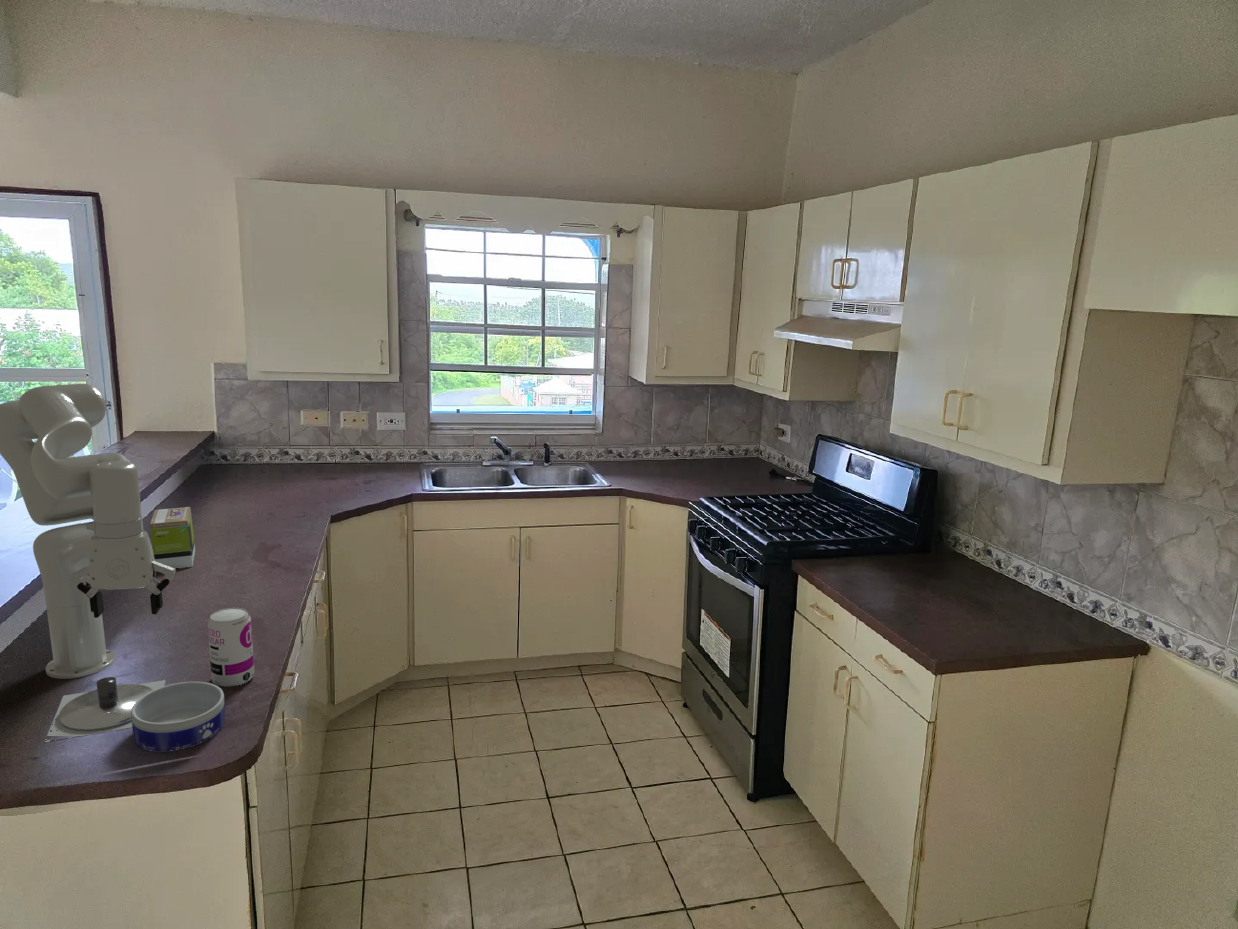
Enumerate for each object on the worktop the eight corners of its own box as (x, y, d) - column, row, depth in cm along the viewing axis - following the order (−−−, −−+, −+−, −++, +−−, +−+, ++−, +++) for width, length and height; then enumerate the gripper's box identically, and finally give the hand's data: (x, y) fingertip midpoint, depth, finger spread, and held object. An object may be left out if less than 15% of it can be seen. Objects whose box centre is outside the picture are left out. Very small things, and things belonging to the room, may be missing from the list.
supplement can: (260, 670, 174) (256, 607, 170) (244, 689, 166) (239, 623, 162) (223, 670, 173) (218, 606, 170) (205, 689, 165) (199, 622, 162)
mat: (63, 697, 160) (63, 695, 160) (165, 681, 168) (165, 680, 167) (44, 744, 144) (44, 742, 144) (158, 724, 152) (157, 722, 152)
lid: (68, 697, 159) (64, 669, 158) (159, 683, 166) (157, 656, 165) (52, 738, 145) (48, 709, 144) (152, 721, 152) (149, 693, 151)
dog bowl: (186, 760, 141) (184, 730, 140) (112, 745, 144) (110, 715, 143) (242, 716, 156) (241, 688, 154) (174, 703, 158) (172, 675, 157)
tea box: (158, 555, 241) (154, 508, 238) (196, 551, 245) (192, 505, 242) (153, 571, 228) (149, 522, 225) (193, 567, 232) (189, 519, 229)
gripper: (57, 536, 141) (68, 624, 145) (165, 532, 146) (173, 618, 150) (73, 523, 148) (83, 608, 152) (176, 520, 153) (183, 602, 157)
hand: (127, 613), depth 151 cm, fingers open, 9 cm apart
